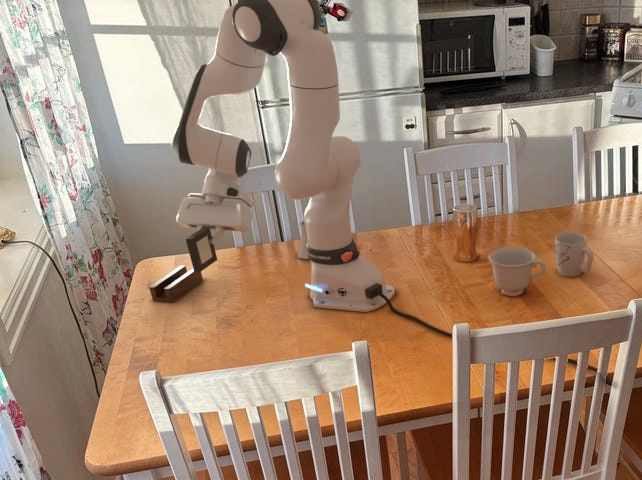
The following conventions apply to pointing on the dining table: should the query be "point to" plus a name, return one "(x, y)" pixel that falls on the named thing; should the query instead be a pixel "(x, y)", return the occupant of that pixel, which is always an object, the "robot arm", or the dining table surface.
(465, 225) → the beer glass
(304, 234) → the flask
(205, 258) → the frame
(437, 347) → the dining table surface
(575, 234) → the mug
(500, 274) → the teacup
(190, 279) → the holder
